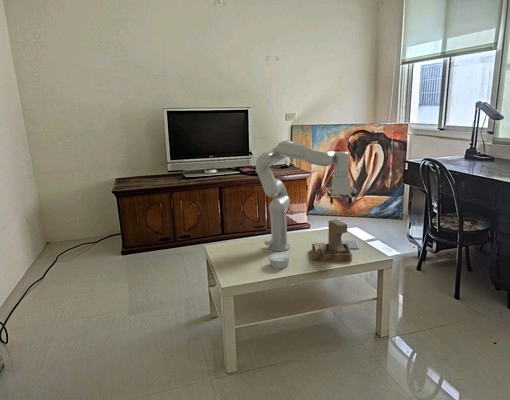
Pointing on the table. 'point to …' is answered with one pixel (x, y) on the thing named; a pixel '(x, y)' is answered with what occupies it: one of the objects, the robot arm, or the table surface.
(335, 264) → the table surface
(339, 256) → the rack
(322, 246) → the offcut
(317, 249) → the offcut
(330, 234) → the decorative block
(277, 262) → the ramekin
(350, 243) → the mat
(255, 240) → the table surface
